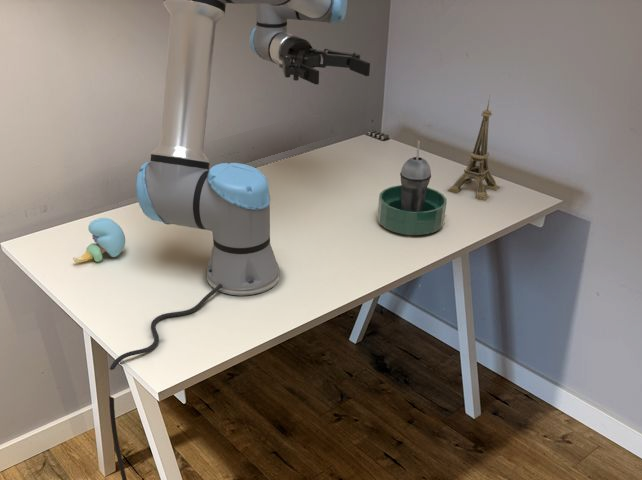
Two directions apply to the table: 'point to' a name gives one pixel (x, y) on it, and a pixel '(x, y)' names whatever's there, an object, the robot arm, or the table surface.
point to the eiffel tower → (482, 170)
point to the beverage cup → (414, 183)
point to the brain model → (103, 240)
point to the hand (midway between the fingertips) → (343, 73)
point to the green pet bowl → (411, 212)
